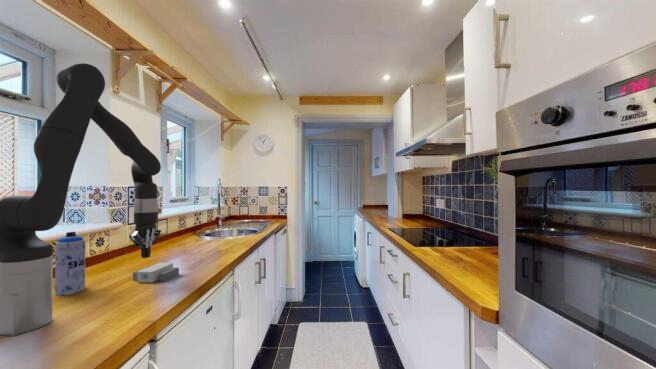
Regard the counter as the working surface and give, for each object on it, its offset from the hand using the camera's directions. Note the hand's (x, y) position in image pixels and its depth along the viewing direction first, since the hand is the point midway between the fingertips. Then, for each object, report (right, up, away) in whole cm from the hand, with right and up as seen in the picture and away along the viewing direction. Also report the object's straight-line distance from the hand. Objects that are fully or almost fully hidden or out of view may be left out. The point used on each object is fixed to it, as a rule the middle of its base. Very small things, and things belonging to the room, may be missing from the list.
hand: (146, 257), depth 101 cm
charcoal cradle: (+1, -9, +5) cm, 11 cm away
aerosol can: (-20, -9, -8) cm, 24 cm away
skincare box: (0, -7, -1) cm, 7 cm away
